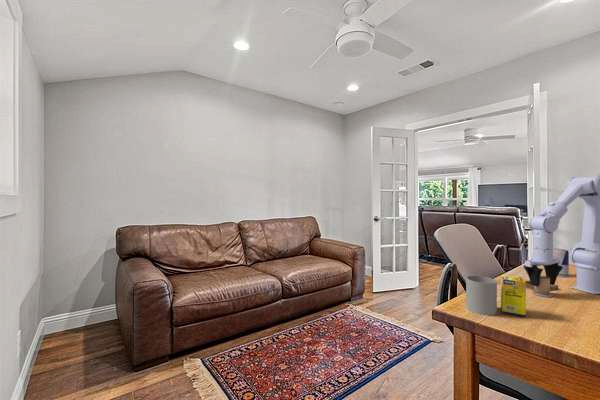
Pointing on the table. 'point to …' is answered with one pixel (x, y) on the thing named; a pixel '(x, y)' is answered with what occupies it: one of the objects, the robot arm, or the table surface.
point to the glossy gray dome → (543, 295)
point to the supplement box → (513, 295)
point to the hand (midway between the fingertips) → (542, 284)
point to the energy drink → (562, 261)
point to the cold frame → (528, 285)
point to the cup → (481, 295)
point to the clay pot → (543, 286)
